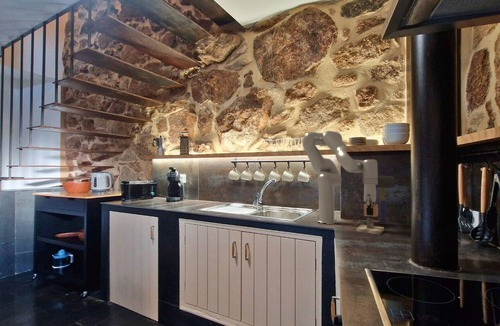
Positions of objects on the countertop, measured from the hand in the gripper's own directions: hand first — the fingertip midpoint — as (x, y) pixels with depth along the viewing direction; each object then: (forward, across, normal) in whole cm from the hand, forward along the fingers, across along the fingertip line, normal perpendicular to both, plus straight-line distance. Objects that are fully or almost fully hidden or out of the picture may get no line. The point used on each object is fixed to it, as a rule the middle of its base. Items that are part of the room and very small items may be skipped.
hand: (371, 214), depth 144 cm
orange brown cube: (+1, 0, 0) cm, 1 cm away
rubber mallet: (+9, -23, +2) cm, 25 cm away
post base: (+9, 0, -1) cm, 9 cm away
